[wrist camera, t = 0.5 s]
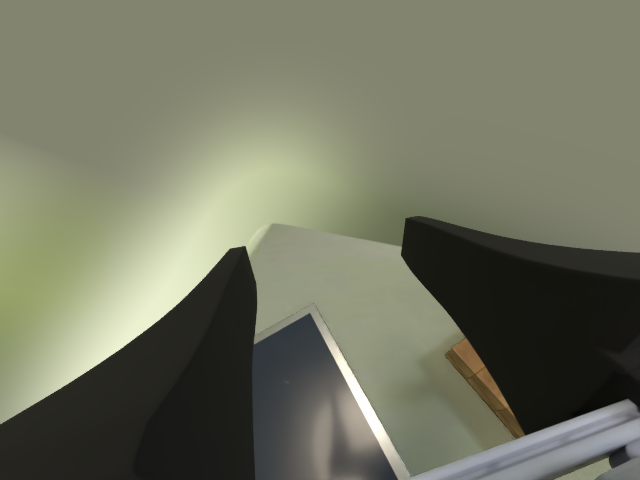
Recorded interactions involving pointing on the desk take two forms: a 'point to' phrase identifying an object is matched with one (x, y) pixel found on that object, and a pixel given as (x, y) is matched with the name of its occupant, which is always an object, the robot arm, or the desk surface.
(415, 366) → the desk surface
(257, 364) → the tablet
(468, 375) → the pen stand
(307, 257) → the desk surface
